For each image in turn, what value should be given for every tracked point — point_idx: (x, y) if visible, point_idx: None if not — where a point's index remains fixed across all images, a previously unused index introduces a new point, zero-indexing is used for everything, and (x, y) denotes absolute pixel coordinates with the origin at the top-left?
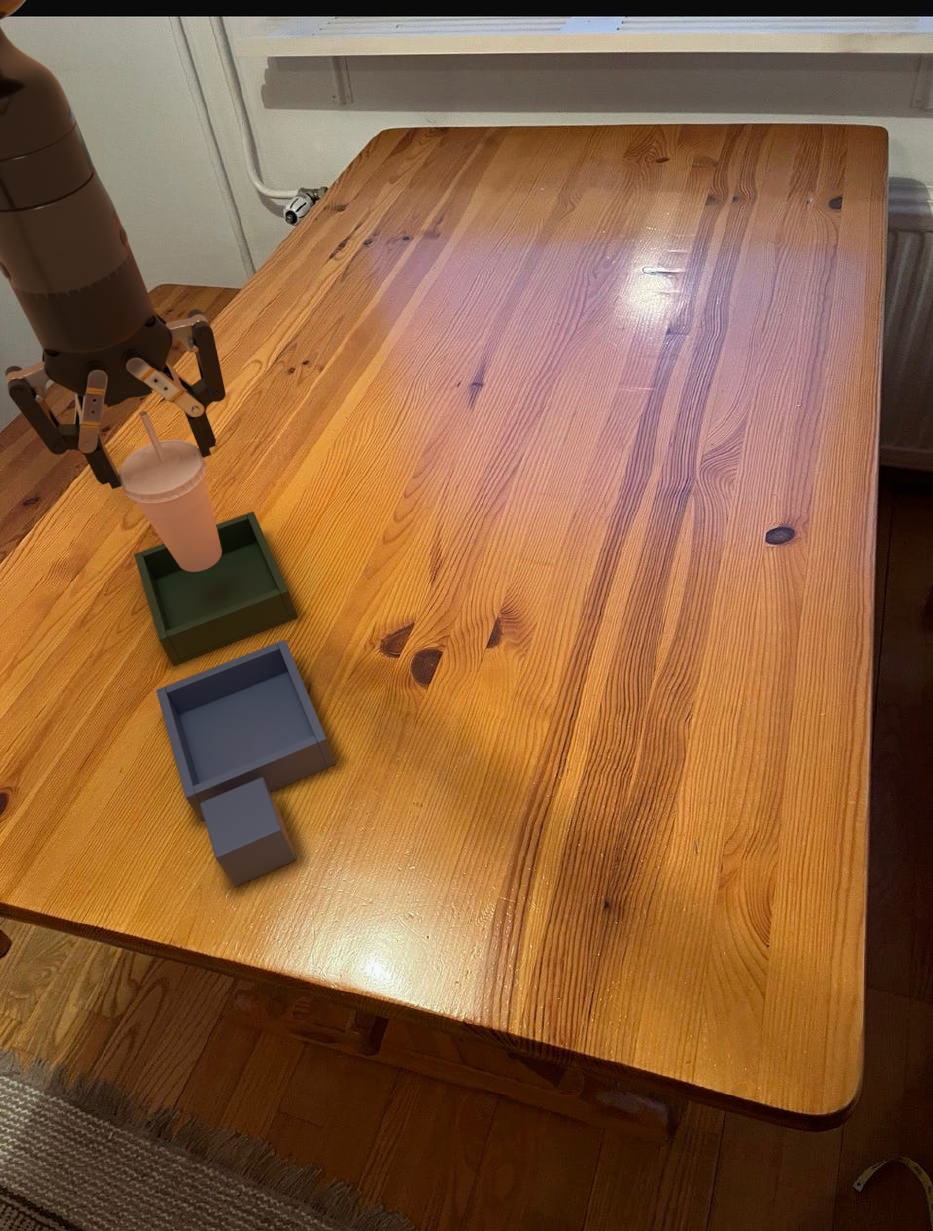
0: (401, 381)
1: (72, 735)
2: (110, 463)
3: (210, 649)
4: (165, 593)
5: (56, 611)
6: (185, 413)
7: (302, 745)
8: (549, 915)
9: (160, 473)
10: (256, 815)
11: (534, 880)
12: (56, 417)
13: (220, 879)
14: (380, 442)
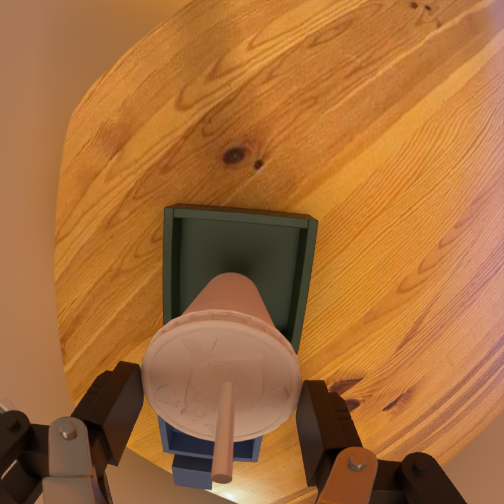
0: (489, 98)
1: (94, 336)
2: (127, 435)
3: None
4: (186, 240)
5: (90, 194)
6: (315, 472)
7: (241, 460)
8: (301, 500)
9: (213, 412)
10: (201, 482)
11: (305, 493)
12: (12, 446)
13: (174, 454)
14: (455, 158)
